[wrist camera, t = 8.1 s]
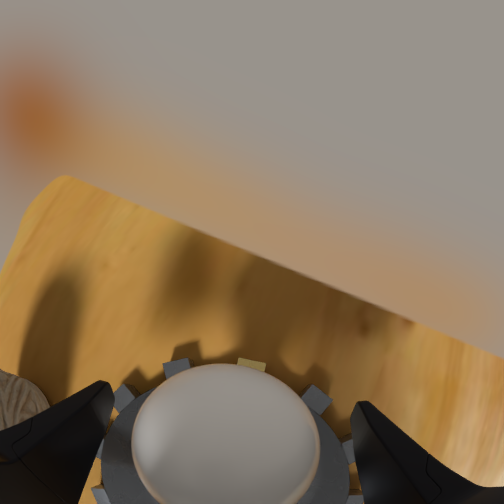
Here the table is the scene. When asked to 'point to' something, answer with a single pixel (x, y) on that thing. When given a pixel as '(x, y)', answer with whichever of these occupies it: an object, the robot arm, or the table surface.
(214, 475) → the lightbulb
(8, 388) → the carving
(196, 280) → the table surface
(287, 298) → the table surface
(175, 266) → the table surface
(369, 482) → the robot arm
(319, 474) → the sprocket plate
